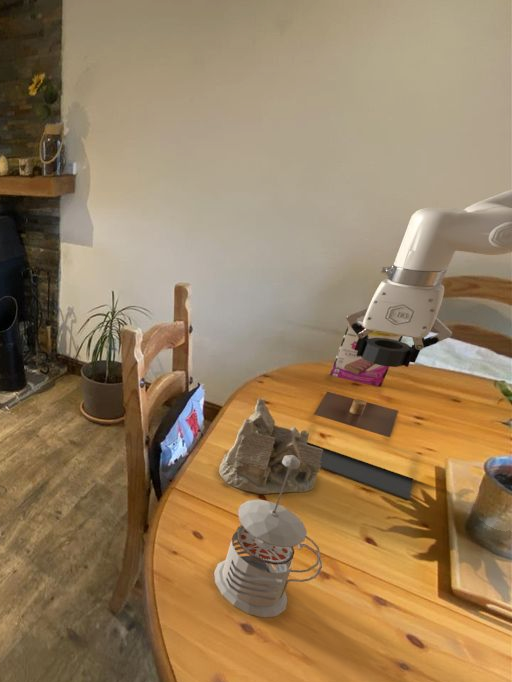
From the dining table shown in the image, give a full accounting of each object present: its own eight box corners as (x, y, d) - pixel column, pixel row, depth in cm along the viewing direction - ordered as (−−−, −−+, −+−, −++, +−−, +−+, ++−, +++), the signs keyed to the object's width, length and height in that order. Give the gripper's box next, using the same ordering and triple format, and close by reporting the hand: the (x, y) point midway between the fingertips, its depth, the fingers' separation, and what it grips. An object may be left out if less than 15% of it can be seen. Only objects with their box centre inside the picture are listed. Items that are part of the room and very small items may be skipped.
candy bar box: (328, 379, 115) (347, 324, 108) (331, 372, 119) (349, 318, 111) (380, 391, 108) (404, 333, 101) (382, 383, 112) (405, 327, 104)
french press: (217, 549, 69) (249, 426, 58) (300, 578, 64) (354, 449, 52) (210, 598, 62) (246, 468, 50) (304, 636, 56) (368, 500, 45)
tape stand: (396, 414, 99) (403, 399, 97) (388, 441, 91) (395, 426, 89) (325, 395, 108) (330, 381, 106) (312, 418, 100) (317, 403, 98)
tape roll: (406, 358, 88) (413, 343, 86) (401, 370, 83) (408, 354, 82) (364, 349, 92) (370, 335, 91) (357, 360, 88) (363, 345, 87)
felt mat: (418, 453, 87) (419, 452, 87) (408, 500, 76) (409, 499, 76) (315, 421, 99) (316, 420, 98) (294, 458, 88) (295, 456, 88)
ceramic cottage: (207, 473, 85) (228, 412, 78) (240, 440, 94) (261, 384, 87) (293, 519, 75) (325, 454, 68) (320, 477, 84) (351, 417, 77)
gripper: (354, 274, 83) (328, 353, 91) (480, 288, 72) (437, 378, 80) (362, 266, 88) (336, 343, 96) (482, 278, 76) (441, 364, 84)
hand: (382, 358), depth 88 cm, fingers closed on tape roll, 7 cm apart
